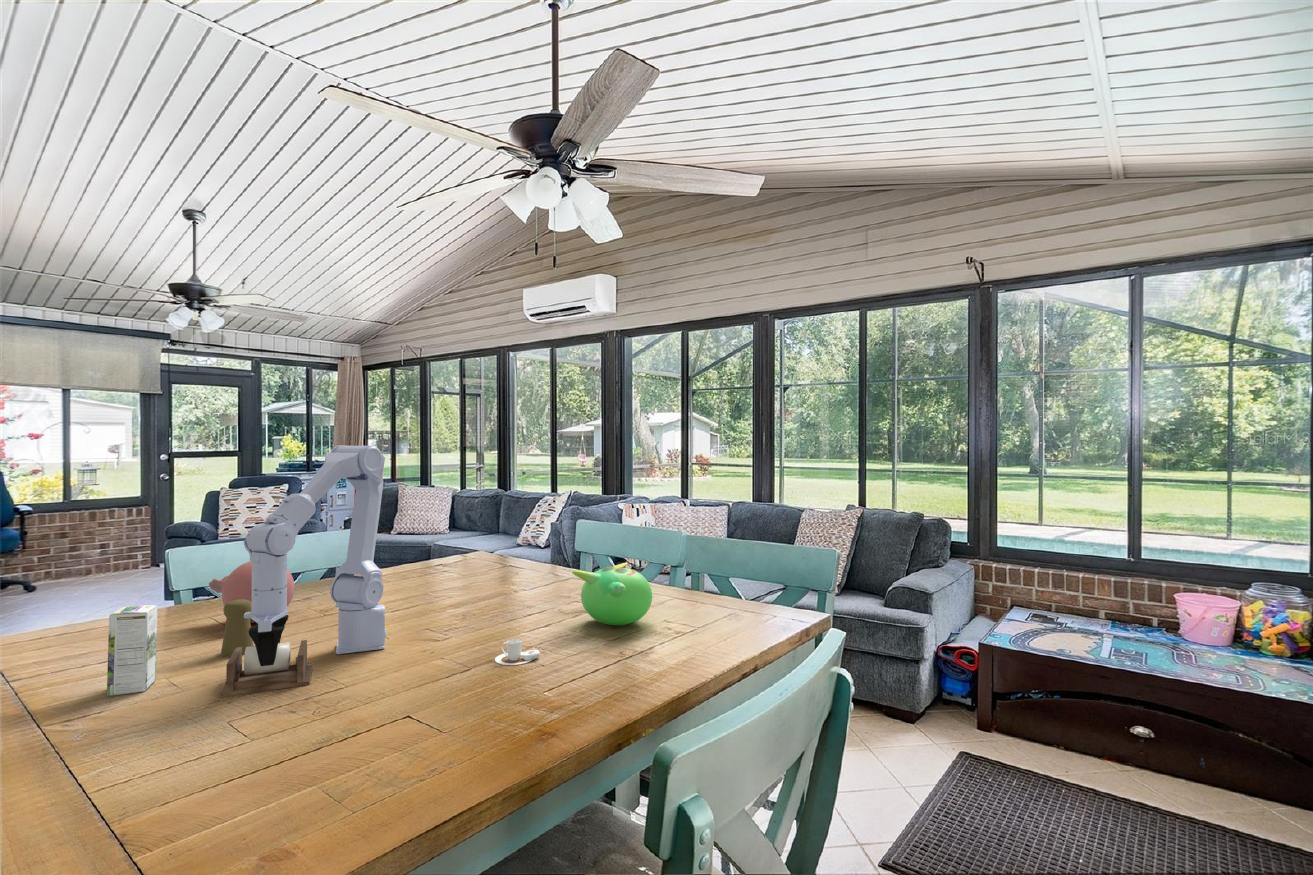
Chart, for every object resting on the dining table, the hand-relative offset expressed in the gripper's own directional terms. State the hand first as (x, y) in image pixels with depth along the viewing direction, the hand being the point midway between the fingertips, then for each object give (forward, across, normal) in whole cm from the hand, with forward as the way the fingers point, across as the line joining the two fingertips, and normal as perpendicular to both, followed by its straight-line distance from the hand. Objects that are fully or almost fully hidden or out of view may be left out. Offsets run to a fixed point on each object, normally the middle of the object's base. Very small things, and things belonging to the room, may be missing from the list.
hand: (269, 660), depth 122 cm
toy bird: (+4, -9, +73) cm, 74 cm away
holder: (+4, 0, 0) cm, 4 cm away
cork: (+4, -22, -8) cm, 24 cm away
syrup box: (+4, -6, -22) cm, 23 cm away
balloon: (+4, -48, -9) cm, 49 cm away
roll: (+2, 0, 0) cm, 2 cm away
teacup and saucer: (+5, +9, +45) cm, 46 cm away
